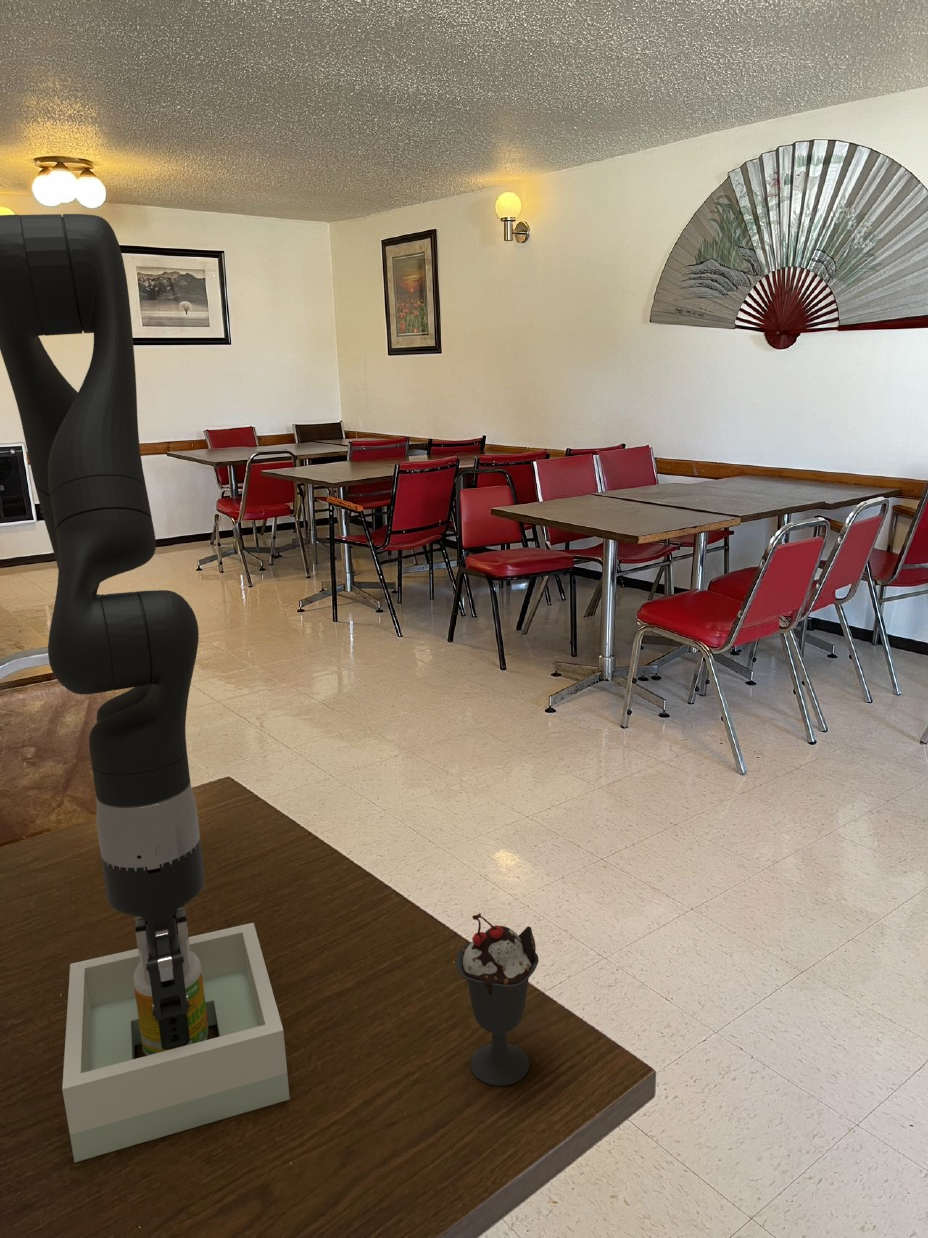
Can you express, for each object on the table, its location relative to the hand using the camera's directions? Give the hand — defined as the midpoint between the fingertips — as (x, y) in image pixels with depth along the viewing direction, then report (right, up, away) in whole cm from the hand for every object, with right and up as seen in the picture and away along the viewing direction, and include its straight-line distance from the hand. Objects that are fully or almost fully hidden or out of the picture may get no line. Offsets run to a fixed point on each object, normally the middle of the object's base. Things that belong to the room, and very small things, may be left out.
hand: (173, 1021), depth 77 cm
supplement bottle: (0, -2, +1) cm, 2 cm away
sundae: (+27, -4, -1) cm, 28 cm away
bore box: (0, -4, +1) cm, 4 cm away
